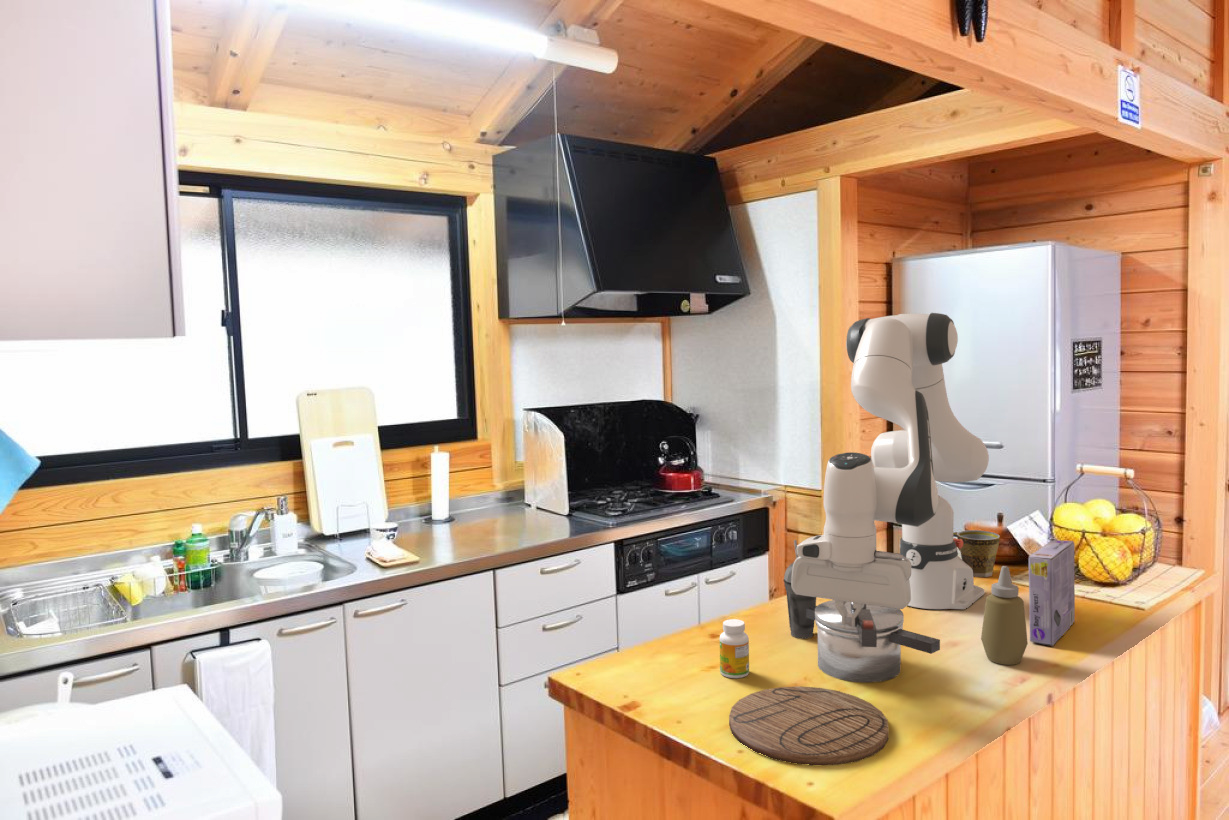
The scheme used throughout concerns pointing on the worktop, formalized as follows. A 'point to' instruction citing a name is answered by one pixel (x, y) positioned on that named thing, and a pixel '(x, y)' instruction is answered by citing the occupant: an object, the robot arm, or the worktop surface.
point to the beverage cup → (798, 607)
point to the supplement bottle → (734, 649)
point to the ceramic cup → (979, 550)
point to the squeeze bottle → (1004, 622)
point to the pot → (866, 652)
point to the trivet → (809, 725)
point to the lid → (861, 620)
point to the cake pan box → (1051, 591)
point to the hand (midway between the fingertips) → (849, 625)
